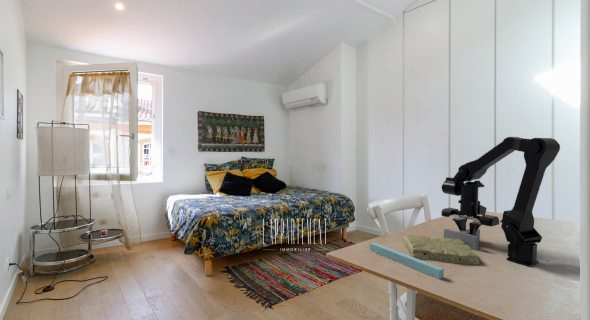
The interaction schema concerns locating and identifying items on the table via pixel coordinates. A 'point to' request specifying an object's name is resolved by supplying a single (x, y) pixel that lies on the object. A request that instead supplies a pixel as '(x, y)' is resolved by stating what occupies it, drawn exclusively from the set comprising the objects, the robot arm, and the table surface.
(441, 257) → the decorative tile
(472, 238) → the grey piece
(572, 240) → the table surface
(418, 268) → the bar
